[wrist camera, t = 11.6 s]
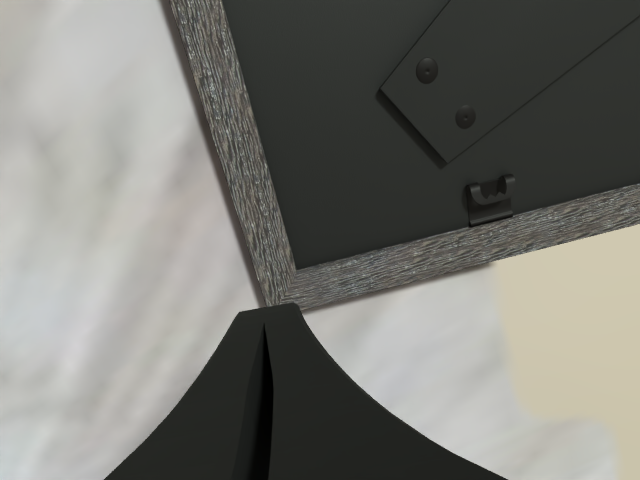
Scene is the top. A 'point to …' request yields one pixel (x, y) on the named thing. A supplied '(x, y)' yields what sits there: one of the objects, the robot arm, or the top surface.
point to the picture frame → (416, 132)
